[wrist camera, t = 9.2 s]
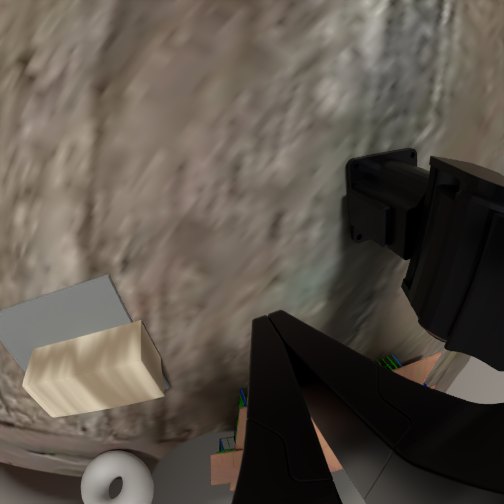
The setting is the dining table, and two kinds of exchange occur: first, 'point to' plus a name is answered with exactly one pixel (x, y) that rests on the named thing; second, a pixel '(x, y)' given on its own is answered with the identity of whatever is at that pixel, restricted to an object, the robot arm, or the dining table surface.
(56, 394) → the birch block
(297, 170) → the dining table surface
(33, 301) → the slate mat
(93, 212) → the dining table surface
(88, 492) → the donut
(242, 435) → the house
